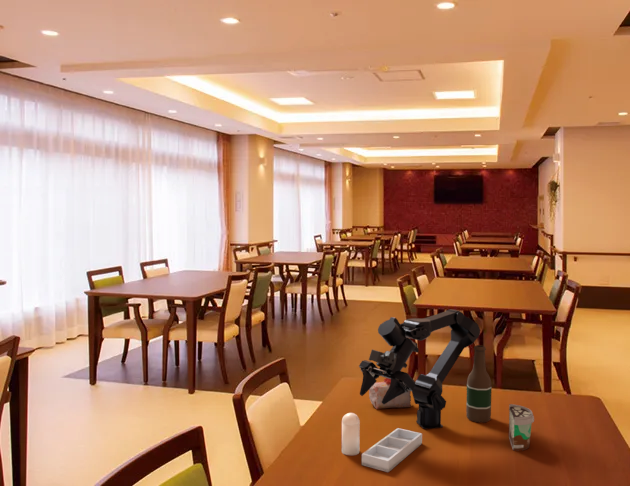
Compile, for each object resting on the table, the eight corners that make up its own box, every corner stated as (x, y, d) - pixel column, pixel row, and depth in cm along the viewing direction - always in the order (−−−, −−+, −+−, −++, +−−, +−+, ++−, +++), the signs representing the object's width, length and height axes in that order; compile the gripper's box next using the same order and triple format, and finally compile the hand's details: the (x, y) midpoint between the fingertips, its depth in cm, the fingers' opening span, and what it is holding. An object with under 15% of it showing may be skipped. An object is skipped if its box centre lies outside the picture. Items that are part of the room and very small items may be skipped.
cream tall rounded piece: (356, 447, 166) (356, 409, 166) (361, 454, 161) (361, 415, 161) (339, 448, 165) (339, 410, 164) (344, 456, 160) (344, 417, 160)
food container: (537, 454, 162) (538, 419, 161) (513, 452, 163) (514, 417, 162) (529, 437, 174) (530, 404, 173) (508, 435, 175) (509, 403, 174)
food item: (373, 411, 197) (374, 382, 196) (367, 403, 204) (368, 375, 204) (412, 408, 199) (412, 380, 198) (405, 401, 207) (405, 373, 206)
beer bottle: (464, 421, 187) (465, 347, 186) (467, 413, 194) (469, 342, 193) (489, 424, 184) (491, 349, 183) (491, 416, 192) (493, 344, 190)
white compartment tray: (397, 437, 173) (397, 427, 173) (422, 443, 169) (422, 433, 169) (361, 465, 155) (361, 454, 155) (388, 472, 150) (388, 461, 150)
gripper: (363, 333, 177) (335, 376, 171) (408, 345, 162) (379, 392, 156) (382, 355, 182) (355, 396, 176) (427, 368, 167) (400, 414, 162)
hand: (371, 399), depth 167 cm, fingers open, 9 cm apart
